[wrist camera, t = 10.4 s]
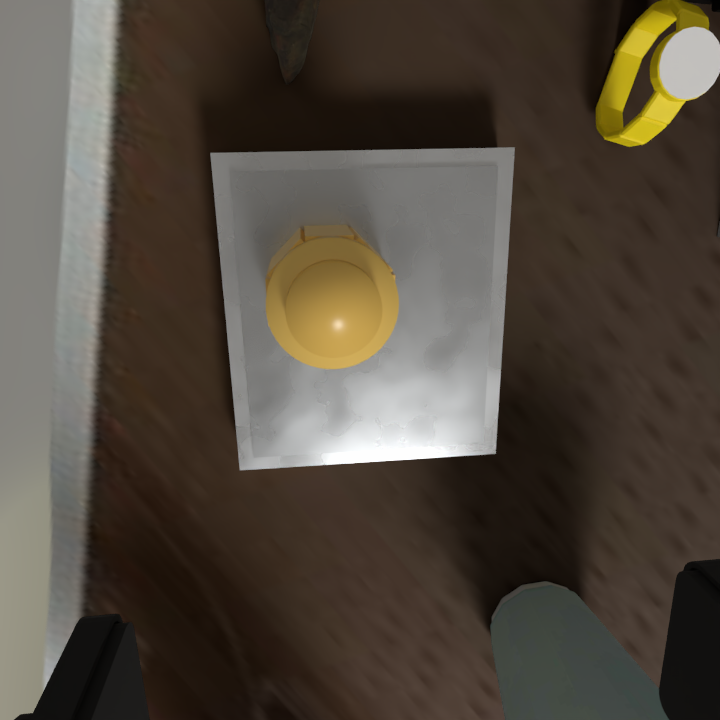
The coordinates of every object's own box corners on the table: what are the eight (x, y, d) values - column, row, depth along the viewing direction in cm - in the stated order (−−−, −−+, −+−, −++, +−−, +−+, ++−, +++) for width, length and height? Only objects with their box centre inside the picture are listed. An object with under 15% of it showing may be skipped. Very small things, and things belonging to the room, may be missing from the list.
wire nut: (382, 333, 30) (402, 373, 24) (274, 337, 30) (268, 379, 24) (382, 223, 28) (403, 239, 23) (267, 226, 28) (259, 244, 22)
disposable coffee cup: (585, 680, 43) (729, 939, 29) (440, 678, 41) (514, 949, 27) (624, 555, 39) (807, 777, 25) (467, 548, 38) (568, 780, 24)
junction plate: (482, 434, 35) (517, 486, 30) (243, 448, 34) (233, 506, 29) (497, 148, 30) (543, 146, 25) (217, 153, 29) (197, 152, 23)
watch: (611, 14, 29) (690, -33, 23) (660, 31, 30) (750, -10, 24) (571, 139, 30) (637, 125, 25) (619, 154, 31) (694, 143, 25)
